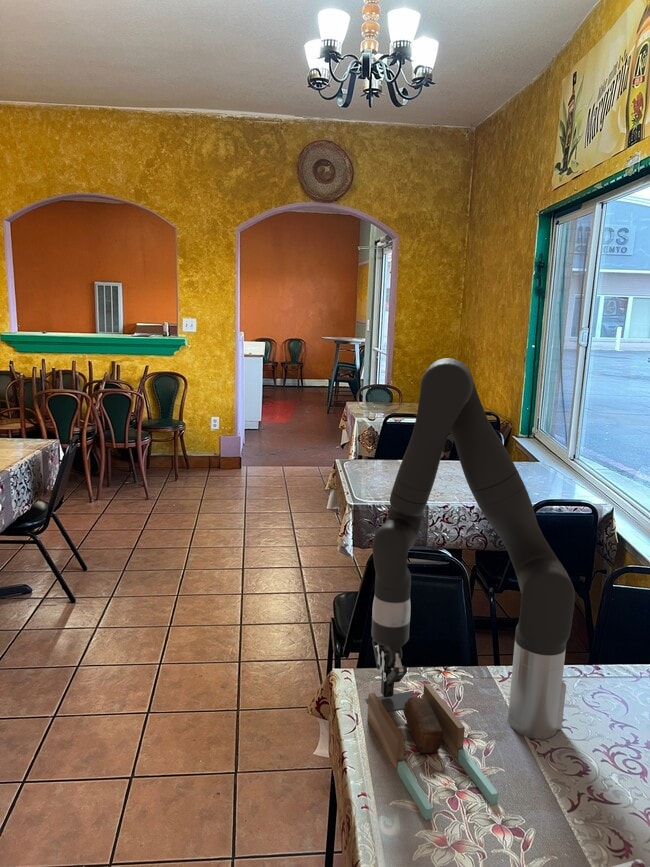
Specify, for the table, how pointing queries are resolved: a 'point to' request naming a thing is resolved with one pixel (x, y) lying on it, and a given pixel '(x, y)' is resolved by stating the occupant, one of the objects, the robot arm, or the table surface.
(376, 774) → the table surface
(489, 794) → the bay
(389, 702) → the pad
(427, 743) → the brick
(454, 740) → the trench
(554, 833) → the table surface
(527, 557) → the robot arm
